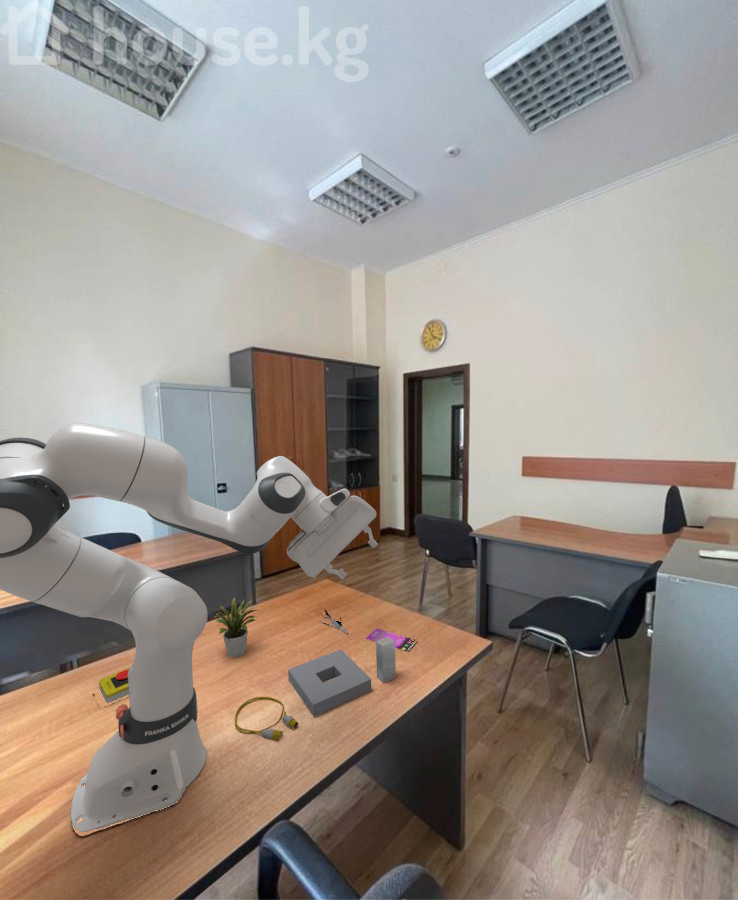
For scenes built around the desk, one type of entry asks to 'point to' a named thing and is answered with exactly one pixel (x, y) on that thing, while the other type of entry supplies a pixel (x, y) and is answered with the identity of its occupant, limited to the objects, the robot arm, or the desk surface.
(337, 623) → the toy airplane
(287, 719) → the extension cord
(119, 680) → the emergency button
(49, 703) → the desk surface
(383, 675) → the grey square post
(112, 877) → the desk surface
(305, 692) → the block
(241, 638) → the house plant
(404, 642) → the smartphone
